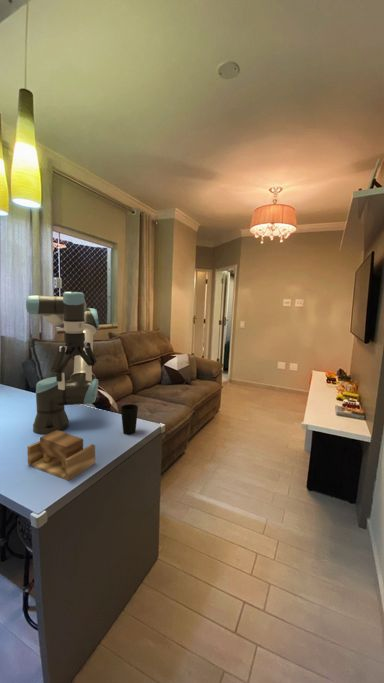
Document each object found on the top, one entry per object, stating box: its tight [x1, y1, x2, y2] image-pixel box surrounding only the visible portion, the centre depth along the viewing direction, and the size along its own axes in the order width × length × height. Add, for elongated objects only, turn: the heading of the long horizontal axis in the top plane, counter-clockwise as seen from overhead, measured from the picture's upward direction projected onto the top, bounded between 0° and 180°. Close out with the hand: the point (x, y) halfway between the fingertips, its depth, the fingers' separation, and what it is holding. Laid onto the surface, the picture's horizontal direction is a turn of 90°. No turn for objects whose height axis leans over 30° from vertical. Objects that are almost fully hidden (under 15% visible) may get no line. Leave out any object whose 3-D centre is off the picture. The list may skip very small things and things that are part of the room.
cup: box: [120, 403, 139, 436], centre depth 130 cm, size 8×8×12 cm
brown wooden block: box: [39, 430, 84, 462], centre depth 102 cm, size 14×7×6 cm, turn 62°
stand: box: [26, 440, 96, 481], centre depth 103 cm, size 20×12×7 cm, turn 65°
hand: (75, 384), depth 114 cm, fingers open, 13 cm apart
